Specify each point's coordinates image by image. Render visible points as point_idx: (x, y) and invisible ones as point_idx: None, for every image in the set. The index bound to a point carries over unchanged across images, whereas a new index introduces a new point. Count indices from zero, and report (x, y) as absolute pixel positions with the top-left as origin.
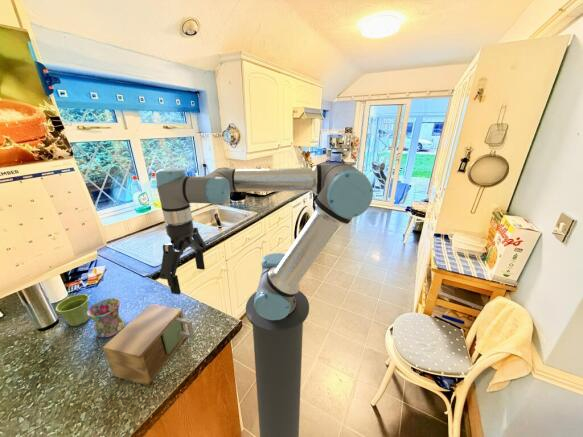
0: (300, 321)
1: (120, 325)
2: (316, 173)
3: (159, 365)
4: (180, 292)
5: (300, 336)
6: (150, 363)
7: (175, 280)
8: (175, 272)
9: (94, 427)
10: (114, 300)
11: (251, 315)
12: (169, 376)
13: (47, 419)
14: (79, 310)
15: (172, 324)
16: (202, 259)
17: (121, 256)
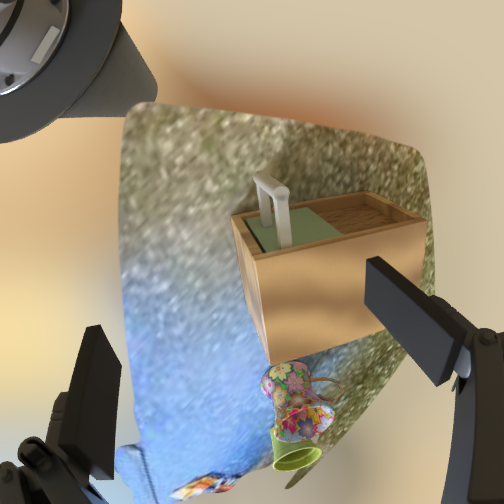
0: None
1: (281, 372)
2: None
3: (334, 203)
4: (370, 261)
5: None
6: (362, 214)
7: (443, 317)
8: (479, 357)
9: (428, 214)
10: (277, 430)
11: (80, 72)
12: (341, 163)
13: (424, 285)
14: (299, 441)
15: (301, 242)
16: (79, 391)
17: (136, 498)
